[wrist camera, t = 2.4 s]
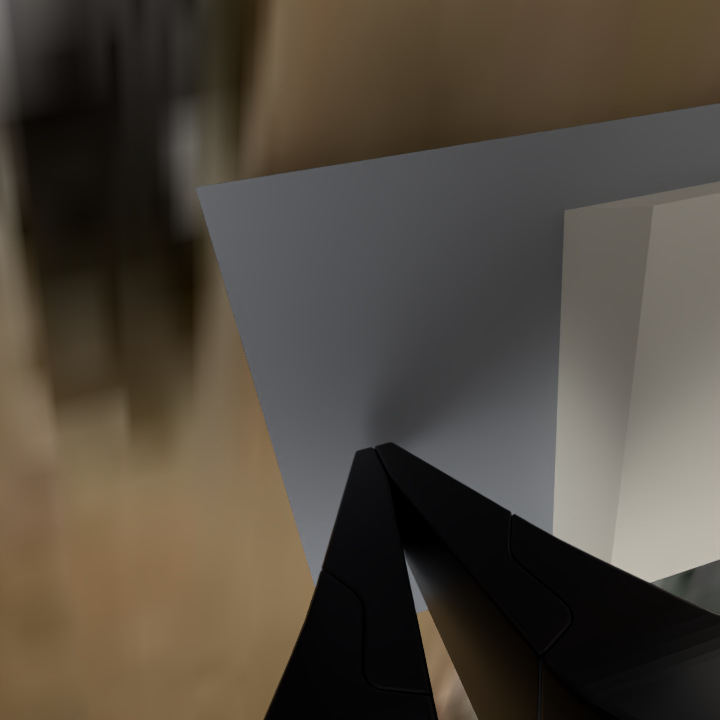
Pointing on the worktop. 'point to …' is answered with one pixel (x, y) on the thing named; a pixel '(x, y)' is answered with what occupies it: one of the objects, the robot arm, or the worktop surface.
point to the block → (641, 382)
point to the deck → (428, 301)
